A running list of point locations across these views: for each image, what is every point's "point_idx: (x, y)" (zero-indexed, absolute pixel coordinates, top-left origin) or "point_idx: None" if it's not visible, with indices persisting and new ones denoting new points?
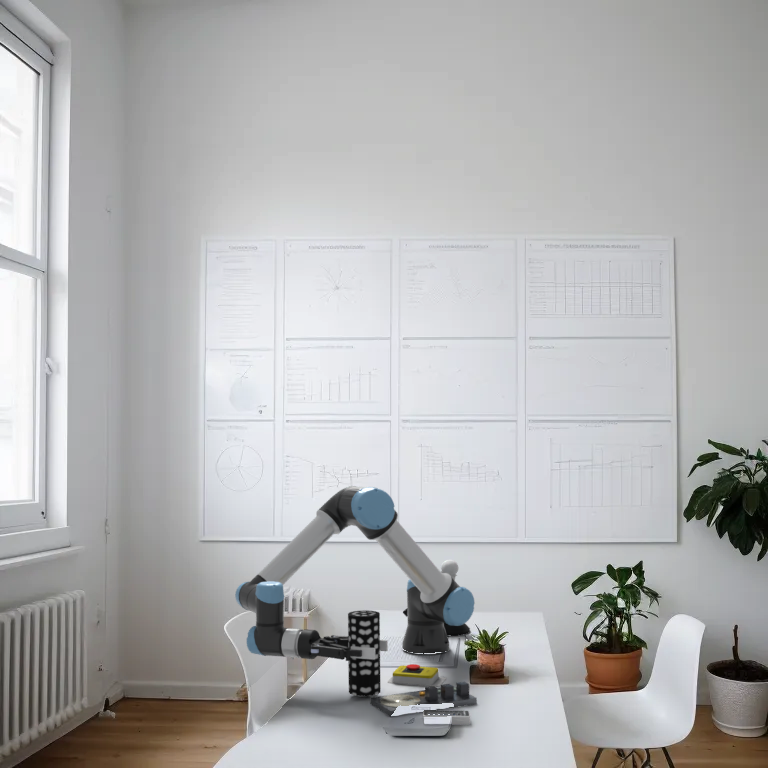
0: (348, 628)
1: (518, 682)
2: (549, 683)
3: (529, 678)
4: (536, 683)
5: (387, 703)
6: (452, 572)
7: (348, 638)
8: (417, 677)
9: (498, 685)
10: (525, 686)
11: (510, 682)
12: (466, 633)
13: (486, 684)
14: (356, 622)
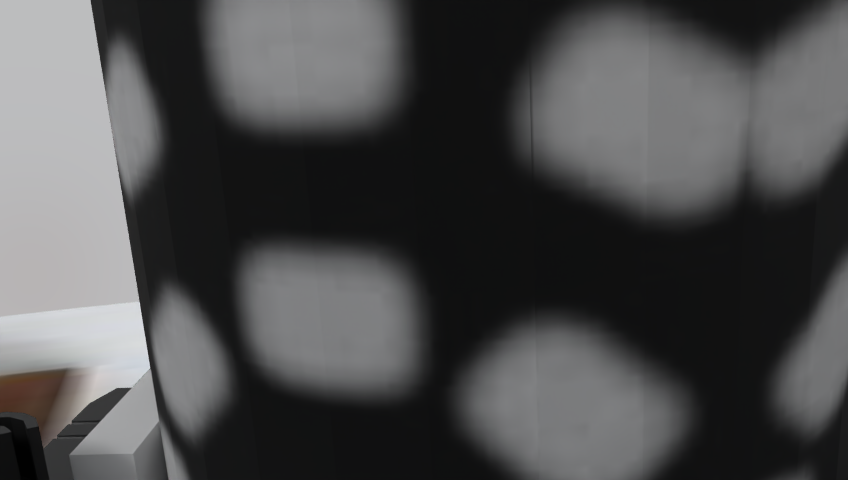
0: (812, 59)
1: (63, 352)
2: (95, 308)
3: (5, 342)
4: (89, 324)
5: None
6: None
7: (773, 387)
8: None
9: (102, 381)
10: (130, 335)
11: (57, 366)
12: None
13: (76, 409)
14: None
